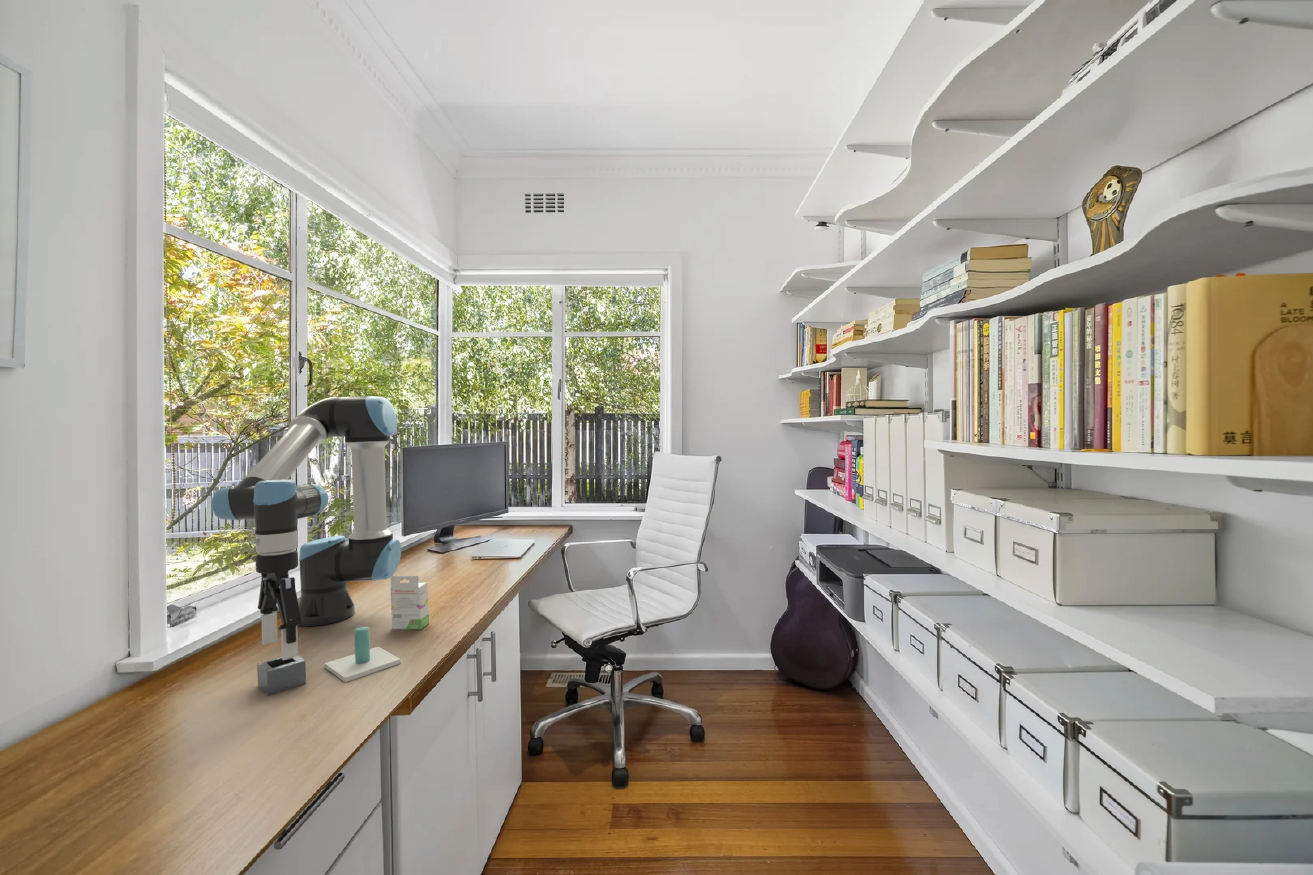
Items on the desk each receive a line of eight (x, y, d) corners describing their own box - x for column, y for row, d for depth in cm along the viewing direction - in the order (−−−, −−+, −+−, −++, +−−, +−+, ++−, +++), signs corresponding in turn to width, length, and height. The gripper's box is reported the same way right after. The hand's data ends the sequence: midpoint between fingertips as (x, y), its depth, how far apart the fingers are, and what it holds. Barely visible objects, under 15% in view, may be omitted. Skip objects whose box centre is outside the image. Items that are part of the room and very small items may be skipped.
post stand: (324, 667, 127) (323, 631, 127) (378, 650, 136) (377, 616, 136) (345, 682, 119) (343, 643, 119) (400, 663, 128) (399, 627, 128)
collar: (258, 685, 118) (257, 663, 118) (295, 674, 124) (294, 652, 124) (267, 695, 114) (267, 671, 114) (306, 683, 119) (305, 660, 119)
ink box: (430, 623, 155) (428, 571, 154) (420, 629, 150) (419, 576, 149) (401, 622, 155) (399, 571, 155) (390, 629, 150) (389, 576, 150)
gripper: (239, 548, 123) (242, 642, 123) (274, 562, 107) (277, 670, 107) (278, 542, 129) (281, 632, 129) (317, 555, 113) (320, 658, 113)
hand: (279, 650), depth 118 cm, fingers open, 13 cm apart
